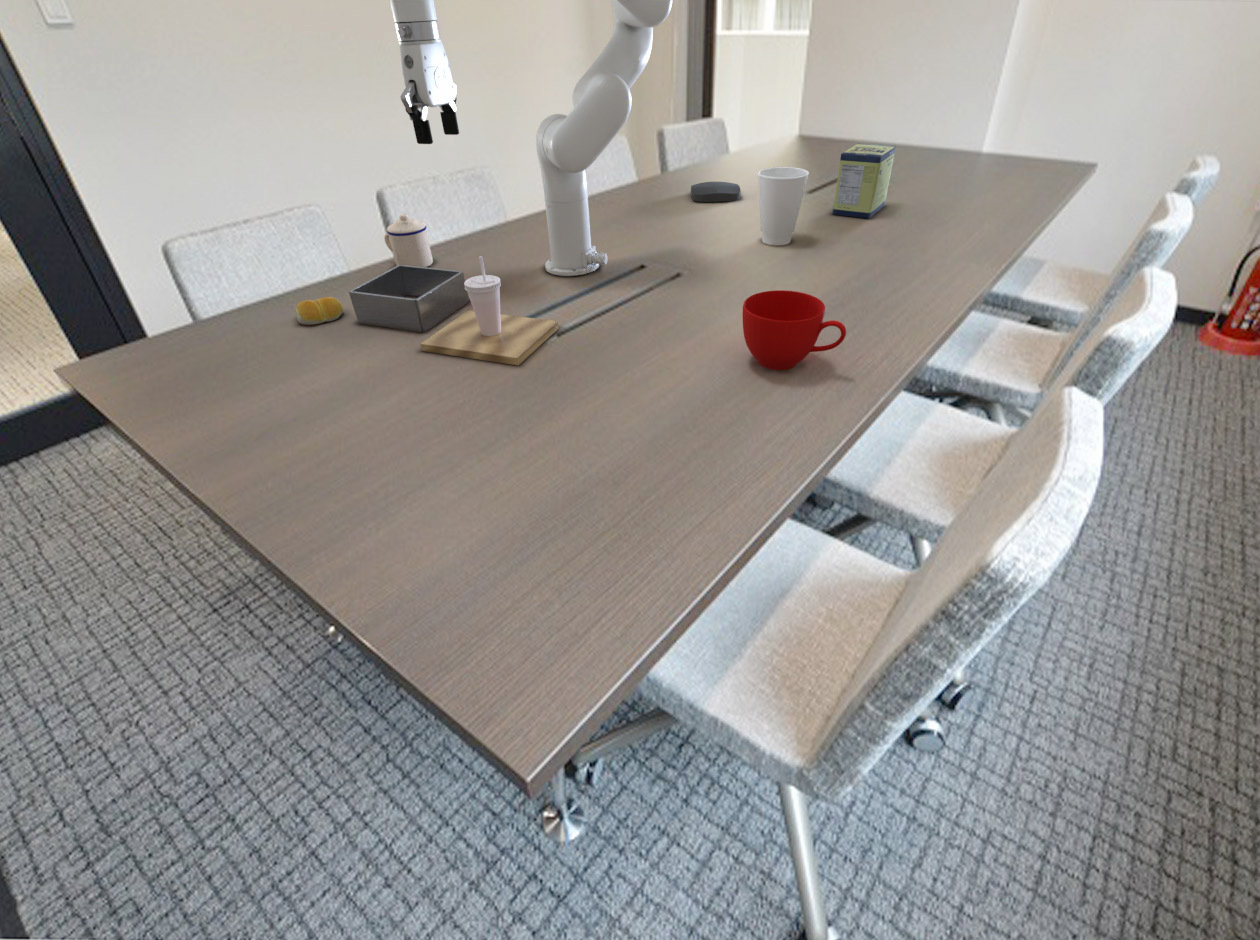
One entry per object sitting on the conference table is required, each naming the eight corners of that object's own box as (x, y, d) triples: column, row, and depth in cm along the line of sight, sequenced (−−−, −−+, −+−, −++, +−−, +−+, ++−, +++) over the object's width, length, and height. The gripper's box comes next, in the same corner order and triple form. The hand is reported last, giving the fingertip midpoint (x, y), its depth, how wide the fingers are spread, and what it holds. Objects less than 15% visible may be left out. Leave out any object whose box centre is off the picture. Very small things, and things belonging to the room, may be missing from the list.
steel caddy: (469, 301, 135) (464, 271, 131) (424, 332, 123) (416, 300, 119) (406, 293, 140) (399, 264, 136) (357, 323, 128) (347, 291, 124)
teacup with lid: (441, 260, 157) (431, 211, 150) (417, 272, 151) (405, 221, 144) (403, 255, 162) (391, 207, 155) (378, 267, 155) (364, 217, 148)
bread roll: (348, 318, 130) (342, 299, 128) (302, 329, 127) (295, 310, 124) (339, 305, 136) (333, 287, 134) (294, 316, 132) (288, 297, 130)
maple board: (558, 328, 122) (558, 321, 122) (518, 365, 111) (517, 358, 110) (469, 316, 129) (468, 309, 128) (422, 351, 117) (420, 343, 116)
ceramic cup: (825, 392, 99) (835, 332, 93) (726, 368, 107) (729, 311, 101) (850, 358, 108) (860, 302, 102) (756, 339, 116) (761, 285, 110)
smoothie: (501, 340, 116) (488, 263, 107) (468, 338, 117) (452, 262, 108) (513, 325, 121) (501, 251, 112) (481, 323, 122) (467, 250, 113)
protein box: (885, 205, 182) (896, 145, 173) (869, 219, 172) (881, 156, 163) (848, 201, 187) (858, 142, 178) (831, 214, 177) (840, 153, 167)
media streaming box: (741, 201, 191) (742, 191, 189) (692, 203, 191) (693, 193, 190) (735, 189, 203) (736, 179, 201) (689, 191, 203) (690, 181, 201)
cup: (747, 246, 158) (752, 176, 148) (758, 232, 166) (763, 165, 157) (795, 250, 154) (804, 179, 144) (804, 235, 163) (812, 167, 153)
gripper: (408, 36, 108) (431, 148, 118) (460, 30, 121) (477, 131, 131) (371, 37, 110) (397, 147, 120) (426, 31, 123) (445, 131, 133)
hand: (439, 138), depth 126 cm, fingers open, 9 cm apart
